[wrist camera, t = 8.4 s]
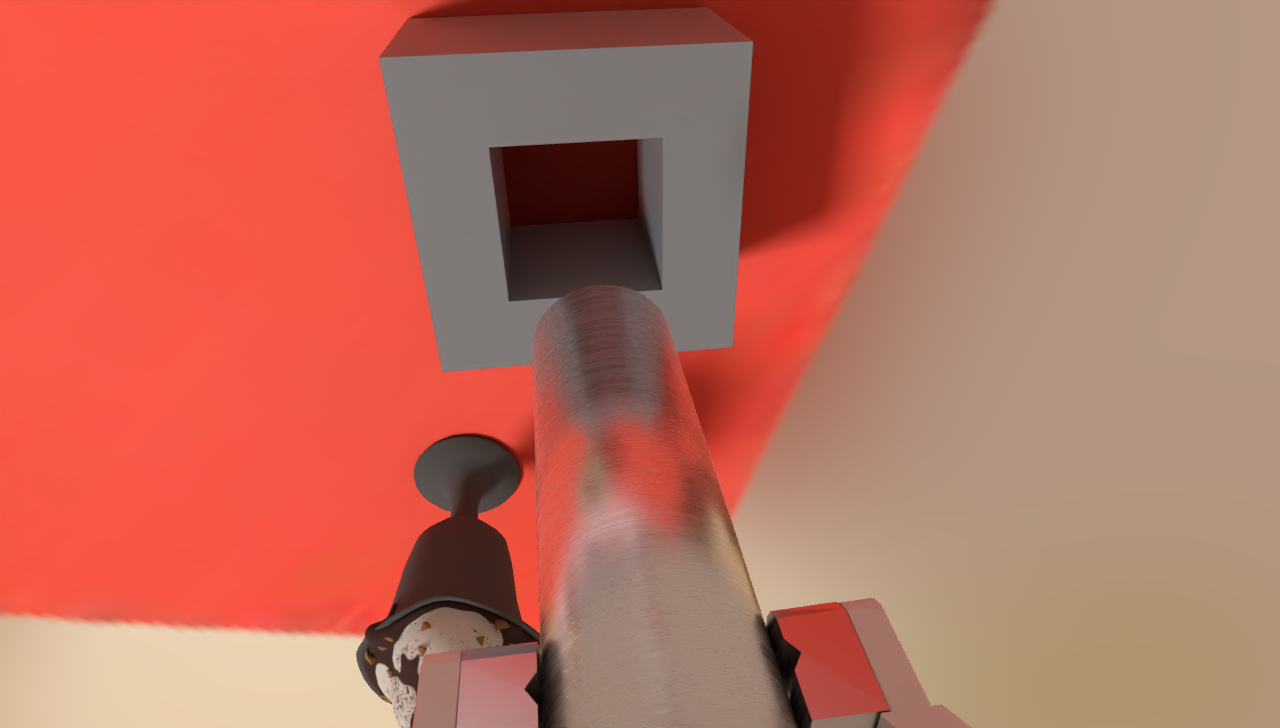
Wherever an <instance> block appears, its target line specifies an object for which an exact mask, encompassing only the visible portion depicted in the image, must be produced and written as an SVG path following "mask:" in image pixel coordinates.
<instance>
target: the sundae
mask: <svg viewBox="0 0 1280 728" xmlns="http://www.w3.org/2000/svg"><path fill="white" fill-rule="evenodd" d="M414 478H415V483H416V486H417V488H418V490H419V491H420V492H421V494H422V495H423V496H424V497H425V498H426V499H427V500H428V501H429V502H431V503H433V504H434V505H436V506H438V507H440V508H442V509H444V510H447V511H450V512H451V517H450V518H447V519H445V520H443V521H441V522H439V523H437V524H435V525H433V526H431V527H429V528H428V529H427V530H425V531H424V532H423V533H422V534H421V535H420V536H419V538H418V539H417V541H416V543H415V545H414V547H413V550H412V552H411V554H410V556H409V558H408V561H407V563H406V565H405V568H404V571H403V574H402V577H401V580H400V583H399V586H398V589H397V592H396V595H395V598H394V601H393V604H392V607H391V609H390V612H389V614H388V617H387V618H386V619H384V620H383V621H380V622H377V623H374V624H372V625H370V626H369V627H368V628H367V629H366V632H365V638H364V640H363V641H362V643H361V644H360V646H359V648H358V650H357V653H356V655H357V662H358V666H359V669H360V671H361V673H362V675H363V678H364V680H365V681H366V682H367V684H368V685H369V686H370V688H371V689H372V690H373V691H374V692H375V693H376V694H377V695H378V696H379V697H381V699H382V700H385V701H386V702H388V703H390V704H392V705H393V710H394V713H395V715H396V719H397V722H398V724H399V726H400V727H401V728H413V721H414V713H415V705H416V697H417V689H418V681H419V674H420V667H421V664H422V662H423V659H424V656H425V655H426V654H434V653H441V652H449V651H457V650H469V649H478V648H487V647H496V646H505V645H514V644H522V643H531V642H538V645H539V650H540V634H539V633H538V632H537V631H536V630H535V629H533V628H532V627H531V626H529V625H528V624H526V623H525V622H524V621H522V618H521V615H520V611H519V607H518V603H517V598H516V591H515V583H514V576H513V568H512V562H511V558H510V554H509V550H508V546H507V543H506V540H505V538H504V537H503V536H502V535H501V534H500V533H499V532H498V531H497V530H496V529H494V528H493V527H491V526H490V525H488V524H487V523H485V522H483V521H481V520H479V519H478V513H482V512H485V511H488V510H491V509H493V508H495V507H497V506H499V505H501V504H502V503H503V502H505V501H506V500H507V499H508V498H509V497H510V496H511V495H512V494H513V493H514V491H515V490H516V488H517V486H518V483H519V480H520V471H519V465H518V463H517V461H516V460H515V458H514V457H513V455H512V454H511V453H510V451H508V450H507V449H506V448H504V447H503V446H501V445H500V444H498V443H496V442H494V441H492V440H489V439H485V438H481V437H476V436H458V437H451V438H448V439H445V440H442V441H440V442H437V443H435V444H433V445H432V446H430V447H429V448H428V449H427V450H425V451H424V453H423V454H422V455H421V456H420V457H419V459H418V461H417V463H416V466H415V470H414Z"/></svg>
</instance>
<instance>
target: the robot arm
mask: <svg viewBox="0 0 1280 728" xmlns="http://www.w3.org/2000/svg"><path fill="white" fill-rule="evenodd" d="M766 629H767V632H768V635H769V638H770V641H771V644H772V647H773V650H774V653H775V656H776V659H777V663H778V666H779V669H780V672H781V675H782V678H783V681H784V684H785V687H786V690H787V693H788V696H789V700H790V703H791V706H792V709H793V712H794V715H795V718H796V721H797V724H798V727H799V728H971V727H970V726H969V725H967V724H966V723H965V722H964V721H962V720H961V719H959V718H958V717H957V716H956V715H955V714H953V713H952V712H951V711H949V710H948V709H947V708H946V707H944V706H943V705H934V706H931V704H930V702H929V700H928V698H927V696H926V694H925V692H924V690H923V688H922V686H921V684H920V682H919V680H918V678H917V676H916V674H915V672H914V670H913V668H912V666H911V664H910V662H909V660H908V658H907V656H906V654H905V652H904V650H903V648H902V646H901V644H900V642H899V640H898V638H897V636H896V634H895V632H894V630H893V628H892V626H891V624H890V622H889V620H888V618H887V616H886V614H885V612H884V610H883V608H882V606H881V604H880V603H879V602H878V601H877V600H875V599H873V598H868V599H861V600H854V601H848V602H841V603H837V602H832V603H825V604H818V605H811V606H804V607H797V608H790V609H783V610H776V611H771V612H770V613H769V615H768V616H767V623H766ZM541 703H542V680H541V655H540V650H539V645H538V642H531V643H522V644H514V645H505V646H496V647H487V648H478V649H469V650H457V651H449V652H441V653H434V654H426V655H425V656H424V659H423V662H422V664H421V667H420V674H419V681H418V689H417V697H416V705H415V713H414V721H413V728H542V709H541Z"/></svg>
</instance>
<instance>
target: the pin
mask: <svg viewBox="0 0 1280 728" xmlns="http://www.w3.org/2000/svg"><path fill="white" fill-rule="evenodd" d="M532 352H533V392H534V432H535V471H536V511H537V550H538V590H539V630H540V655H541V680H542V703H541V709H542V728H799V727H798V724H797V721H796V718H795V715H794V712H793V709H792V706H791V703H790V700H789V696H788V693H787V690H786V687H785V684H784V681H783V678H782V675H781V672H780V669H779V666H778V663H777V659H776V656H775V653H774V650H773V647H772V644H771V641H770V638H769V635H768V632H767V629H766V625H765V623H764V619H763V616H762V613H761V610H760V607H759V604H758V601H757V598H756V595H755V592H754V589H753V585H752V582H751V580H750V577H749V573H748V570H747V567H746V564H745V561H744V558H743V555H742V552H741V548H740V545H739V542H738V539H737V537H736V533H735V530H734V527H733V524H732V521H731V517H730V514H729V511H728V508H727V505H726V502H725V499H724V496H723V493H722V490H721V487H720V484H719V480H718V477H717V474H716V471H715V468H714V465H713V462H712V459H711V456H710V453H709V450H708V447H707V443H706V440H705V437H704V434H703V431H702V428H701V425H700V422H699V419H698V416H697V413H696V409H695V406H694V403H693V400H692V397H691V394H690V391H689V388H688V385H687V382H686V379H685V376H684V372H683V369H682V366H681V363H680V360H679V357H678V354H677V351H676V348H675V345H674V342H673V339H672V335H671V332H670V329H669V326H668V324H667V321H666V318H665V317H664V315H663V313H662V312H661V310H660V309H659V308H658V307H657V305H656V304H654V303H653V302H652V301H651V300H650V299H649V298H647V297H646V296H644V295H643V294H641V293H639V292H637V291H635V290H632V289H629V288H626V287H622V286H616V285H595V286H588V287H584V288H581V289H578V290H575V291H573V292H570V293H569V294H567V295H565V296H563V297H562V298H560V299H559V300H557V301H556V302H555V303H554V304H552V305H551V306H550V307H549V308H548V309H547V311H546V312H545V313H544V314H543V316H542V317H541V319H540V320H539V322H538V324H537V327H536V329H535V332H534V336H533V343H532Z"/></svg>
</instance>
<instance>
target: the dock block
mask: <svg viewBox="0 0 1280 728" xmlns="http://www.w3.org/2000/svg"><path fill="white" fill-rule="evenodd" d="M752 52H753V41H752V40H751V39H749V38H748V37H747V36H745V35H744V34H743V33H741V32H740V31H739V30H737V29H736V28H735V27H733V26H732V25H731V24H729V23H728V22H727V21H725V20H724V19H723V18H721V17H720V16H719V15H717V14H716V13H715V12H714V11H712V10H711V9H710V8H708V7H693V8H667V9H641V10H614V11H588V12H561V13H535V14H509V15H482V16H456V17H430V18H408V19H407V20H406V22H405V23H404V24H403V26H402V27H401V28H400V30H399V31H398V32H397V34H396V35H395V37H394V38H393V39H392V41H391V42H390V43H389V45H388V46H387V47H386V49H385V50H384V52H383V53H382V54H381V56H380V57H379V60H380V65H381V70H382V75H383V80H384V85H385V90H386V95H387V100H388V105H389V110H390V115H391V120H392V125H393V129H394V134H395V139H396V144H397V149H398V154H399V159H400V164H401V169H402V174H403V179H404V184H405V189H406V194H407V199H408V204H409V209H410V213H411V218H412V223H413V228H414V233H415V238H416V243H417V248H418V253H419V258H420V263H421V268H422V273H423V278H424V283H425V288H426V293H427V297H428V302H429V307H430V312H431V317H432V322H433V327H434V332H435V337H436V342H437V347H438V352H439V357H440V362H441V367H442V372H451V371H463V370H474V369H486V368H497V367H509V366H521V365H532V364H533V352H532V343H533V336H534V332H535V329H536V327H537V324H538V322H539V320H540V319H541V317H542V316H543V314H544V313H545V312H546V311H547V309H548V308H549V307H550V306H551V305H552V304H554V303H555V302H556V301H557V300H559V299H560V298H562V297H563V296H565V295H567V294H569V293H570V292H573V291H575V290H578V289H581V288H584V287H588V286H595V285H616V286H622V287H626V288H629V289H632V290H635V291H637V292H639V293H641V294H643V295H644V296H646V297H647V298H649V299H650V300H651V301H652V302H653V303H654V304H656V305H657V307H658V308H659V309H660V310H661V312H662V313H663V315H664V317H665V318H666V321H667V324H668V326H669V329H670V332H671V335H672V339H673V342H674V345H675V348H676V351H677V352H682V351H694V350H705V349H717V348H728V347H733V333H734V318H735V303H736V289H737V274H738V259H739V244H740V229H741V215H742V200H743V185H744V170H745V156H746V141H747V126H748V111H749V96H750V82H751V67H752ZM630 139H637V165H638V218H629V219H614V220H599V221H584V222H569V223H555V224H540V225H525V226H511V223H510V215H509V207H508V199H507V191H506V182H505V174H504V166H503V158H502V150H501V147H505V146H523V145H541V144H559V143H576V142H594V141H612V140H630Z"/></svg>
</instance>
